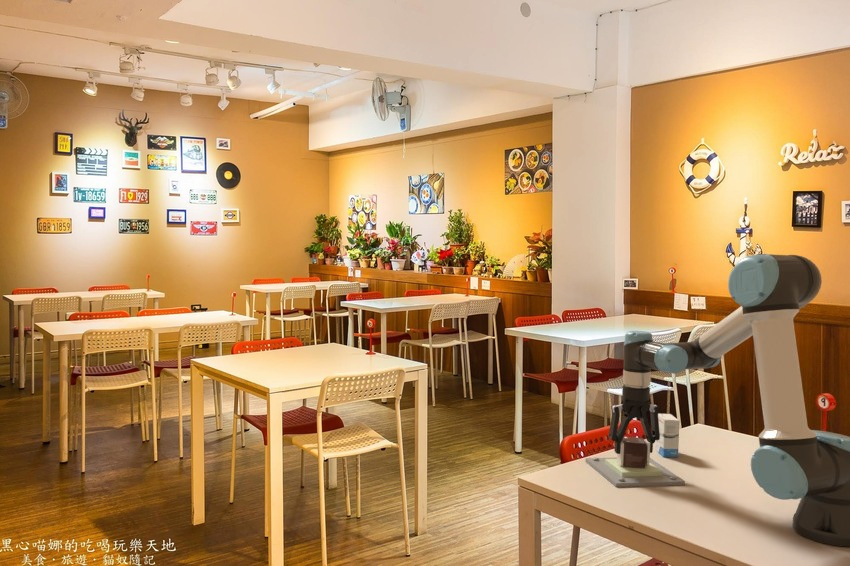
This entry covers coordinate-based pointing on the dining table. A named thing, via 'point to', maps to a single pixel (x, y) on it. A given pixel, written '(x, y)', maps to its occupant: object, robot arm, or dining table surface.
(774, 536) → the dining table surface
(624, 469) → the board
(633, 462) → the box
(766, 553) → the dining table surface
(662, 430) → the ink box
